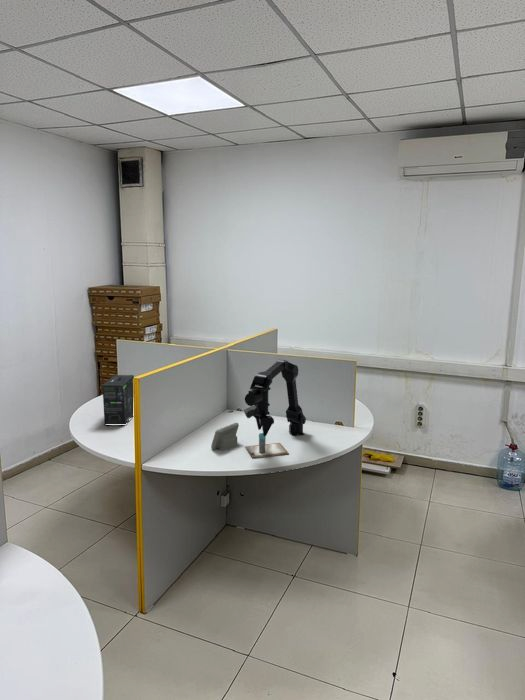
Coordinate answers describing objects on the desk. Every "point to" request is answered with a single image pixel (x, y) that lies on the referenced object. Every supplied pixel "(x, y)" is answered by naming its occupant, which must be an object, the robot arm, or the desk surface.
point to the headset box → (118, 399)
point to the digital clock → (225, 437)
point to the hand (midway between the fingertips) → (262, 432)
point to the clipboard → (267, 450)
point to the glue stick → (262, 443)
